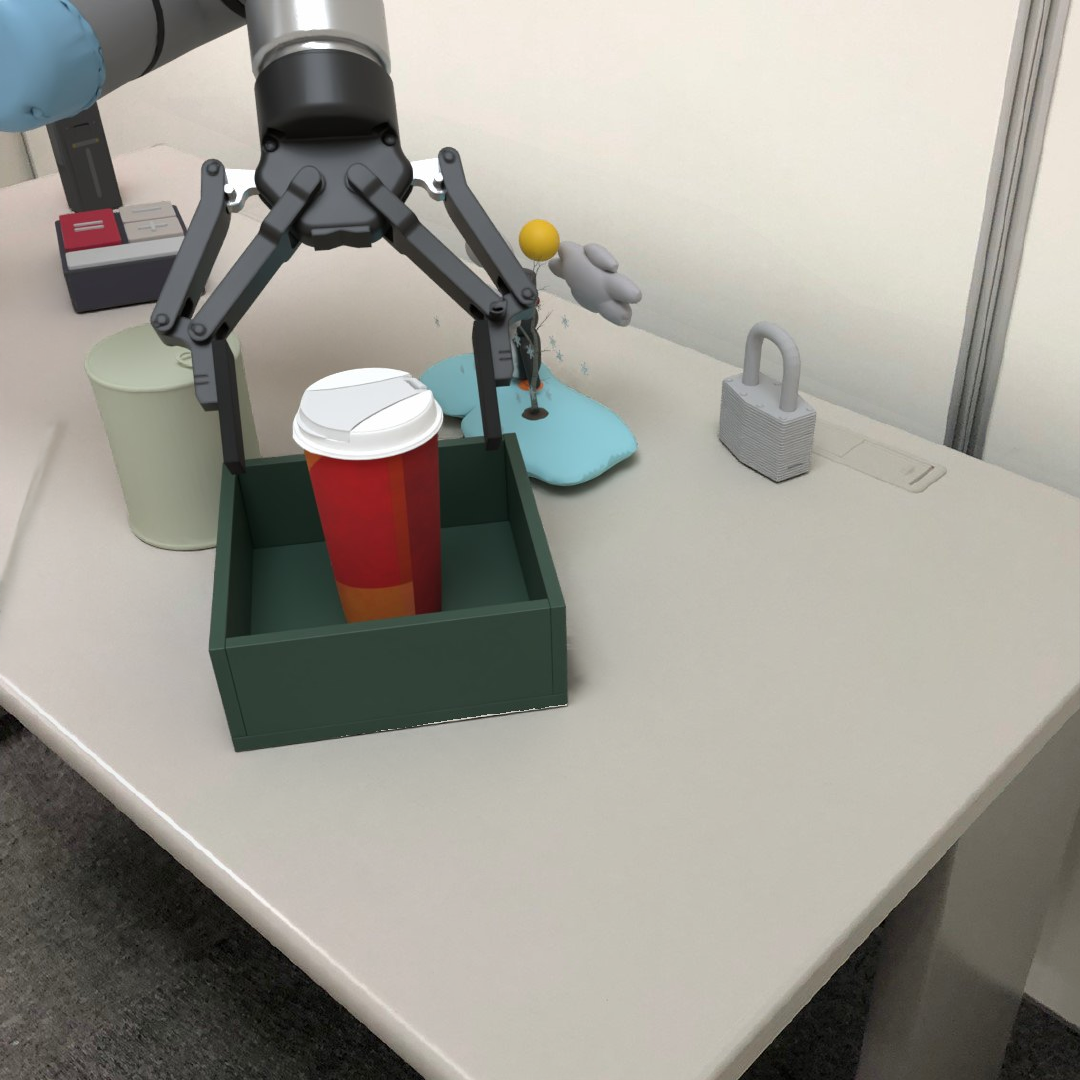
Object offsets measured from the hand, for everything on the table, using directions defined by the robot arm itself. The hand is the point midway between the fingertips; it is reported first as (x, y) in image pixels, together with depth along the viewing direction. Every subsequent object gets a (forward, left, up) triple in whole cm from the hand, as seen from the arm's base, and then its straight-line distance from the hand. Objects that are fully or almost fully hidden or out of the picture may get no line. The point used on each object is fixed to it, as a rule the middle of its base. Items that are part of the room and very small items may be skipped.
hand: (366, 457), depth 65 cm
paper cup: (0, -1, -10) cm, 10 cm away
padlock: (+27, +13, -11) cm, 32 cm away
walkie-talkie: (-25, +72, -11) cm, 77 cm away
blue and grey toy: (+11, +20, -11) cm, 26 cm away
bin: (0, -1, -11) cm, 11 cm away
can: (-11, +14, -11) cm, 21 cm away
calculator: (-20, +55, -11) cm, 60 cm away
